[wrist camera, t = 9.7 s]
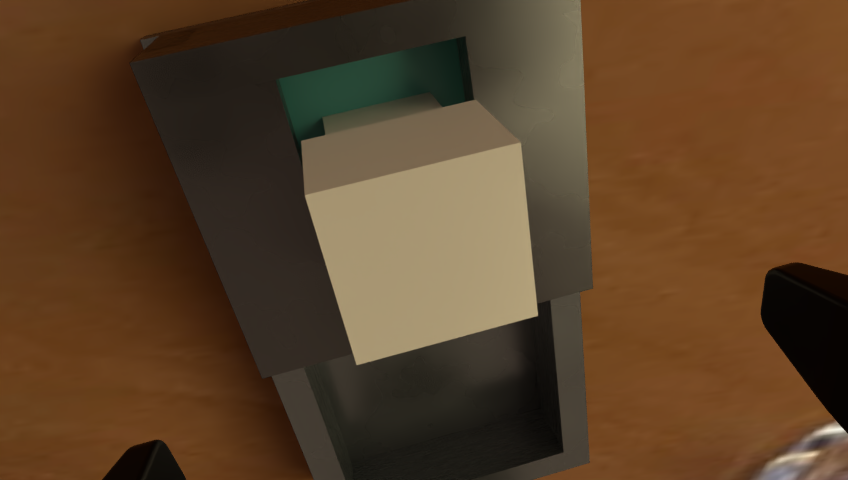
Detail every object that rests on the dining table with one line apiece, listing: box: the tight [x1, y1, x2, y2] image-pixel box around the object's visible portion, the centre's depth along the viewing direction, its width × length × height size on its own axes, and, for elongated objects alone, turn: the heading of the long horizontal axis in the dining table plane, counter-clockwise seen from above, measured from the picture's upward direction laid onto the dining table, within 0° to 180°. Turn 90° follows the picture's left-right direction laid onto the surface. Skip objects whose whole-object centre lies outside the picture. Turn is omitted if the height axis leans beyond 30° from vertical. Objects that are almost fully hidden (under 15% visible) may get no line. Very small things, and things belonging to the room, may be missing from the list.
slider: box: [279, 38, 538, 365], centre depth 15 cm, size 6×6×7 cm
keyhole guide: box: [130, 0, 593, 480], centre depth 19 cm, size 18×11×4 cm, turn 10°
